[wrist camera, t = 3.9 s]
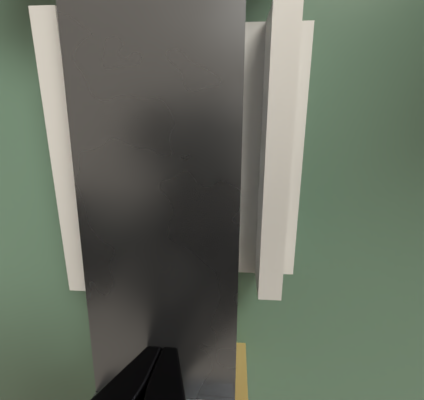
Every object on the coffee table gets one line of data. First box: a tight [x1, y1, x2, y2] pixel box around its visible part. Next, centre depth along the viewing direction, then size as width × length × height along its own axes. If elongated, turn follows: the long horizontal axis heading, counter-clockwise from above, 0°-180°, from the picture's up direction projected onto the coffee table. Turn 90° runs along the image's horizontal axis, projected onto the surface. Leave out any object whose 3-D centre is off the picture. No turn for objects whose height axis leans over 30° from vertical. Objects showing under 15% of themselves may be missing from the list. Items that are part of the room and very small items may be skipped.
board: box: [0, 0, 424, 400], centre depth 10 cm, size 22×21×6 cm
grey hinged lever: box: [56, 0, 246, 400], centre depth 7 cm, size 5×16×2 cm, turn 0°
